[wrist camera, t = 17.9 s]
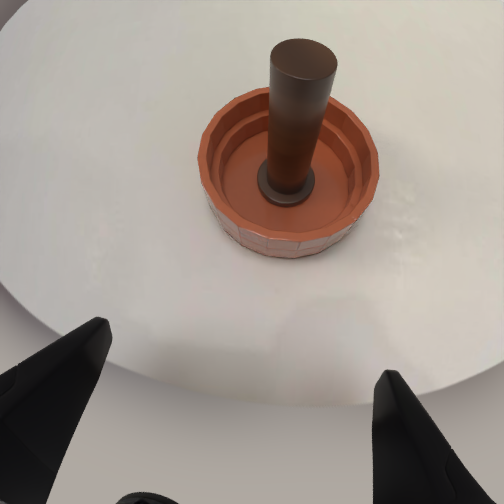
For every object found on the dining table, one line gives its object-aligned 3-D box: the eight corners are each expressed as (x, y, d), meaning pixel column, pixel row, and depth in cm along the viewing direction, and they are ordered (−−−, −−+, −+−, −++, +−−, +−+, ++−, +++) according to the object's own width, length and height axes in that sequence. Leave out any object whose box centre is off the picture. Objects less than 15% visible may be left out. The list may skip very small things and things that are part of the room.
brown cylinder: (289, 219, 24) (315, 108, 12) (245, 183, 25) (233, 58, 12) (324, 180, 25) (370, 61, 12) (282, 147, 26) (294, 20, 13)
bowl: (294, 293, 23) (303, 283, 19) (178, 190, 26) (161, 161, 21) (385, 182, 25) (408, 153, 21) (276, 101, 28) (278, 64, 23)
